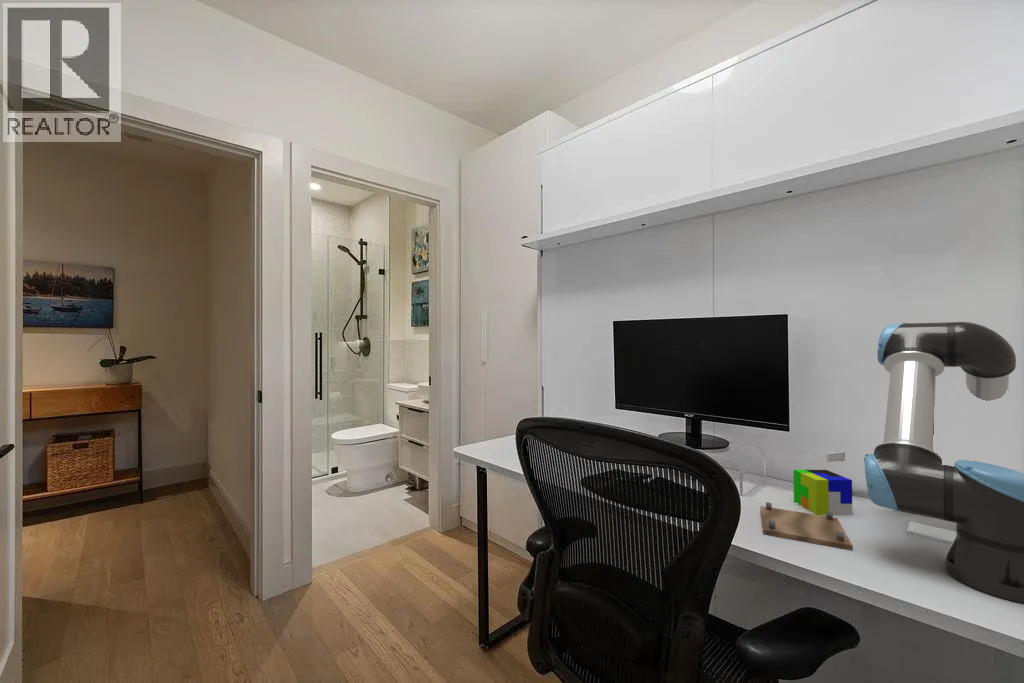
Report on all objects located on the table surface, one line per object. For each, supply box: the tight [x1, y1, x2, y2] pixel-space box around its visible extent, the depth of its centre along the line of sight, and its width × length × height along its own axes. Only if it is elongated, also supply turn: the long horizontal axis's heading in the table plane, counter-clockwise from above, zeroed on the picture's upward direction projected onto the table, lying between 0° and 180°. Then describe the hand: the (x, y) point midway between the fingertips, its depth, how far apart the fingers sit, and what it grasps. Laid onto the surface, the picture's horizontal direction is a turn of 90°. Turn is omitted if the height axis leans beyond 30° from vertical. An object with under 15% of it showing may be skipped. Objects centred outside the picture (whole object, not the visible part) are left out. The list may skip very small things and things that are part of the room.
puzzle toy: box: [793, 469, 853, 516], centre depth 124 cm, size 10×10×10 cm
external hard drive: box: [906, 521, 957, 545], centre depth 105 cm, size 2×8×12 cm
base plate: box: [760, 501, 854, 551], centre depth 110 cm, size 18×18×3 cm
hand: (848, 463), depth 127 cm, fingers open, 13 cm apart
